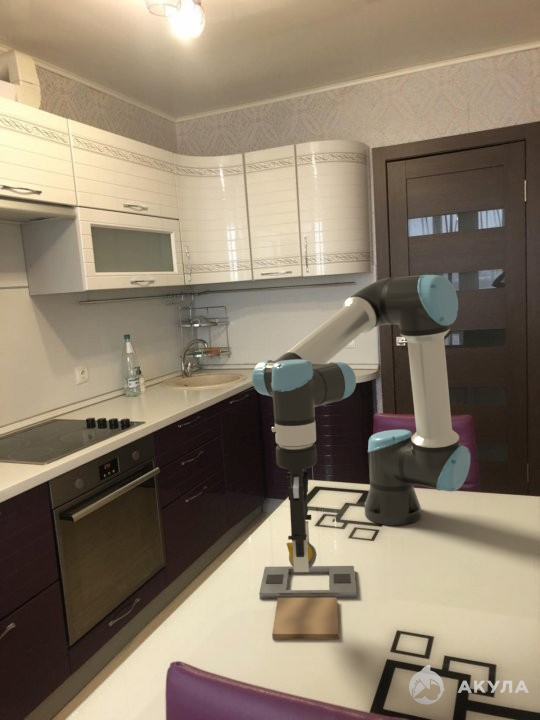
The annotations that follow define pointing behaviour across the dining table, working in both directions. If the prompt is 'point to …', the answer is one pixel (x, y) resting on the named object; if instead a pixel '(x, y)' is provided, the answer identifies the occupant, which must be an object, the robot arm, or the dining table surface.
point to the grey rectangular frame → (338, 588)
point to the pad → (306, 618)
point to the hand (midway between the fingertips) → (302, 561)
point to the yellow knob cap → (311, 554)
